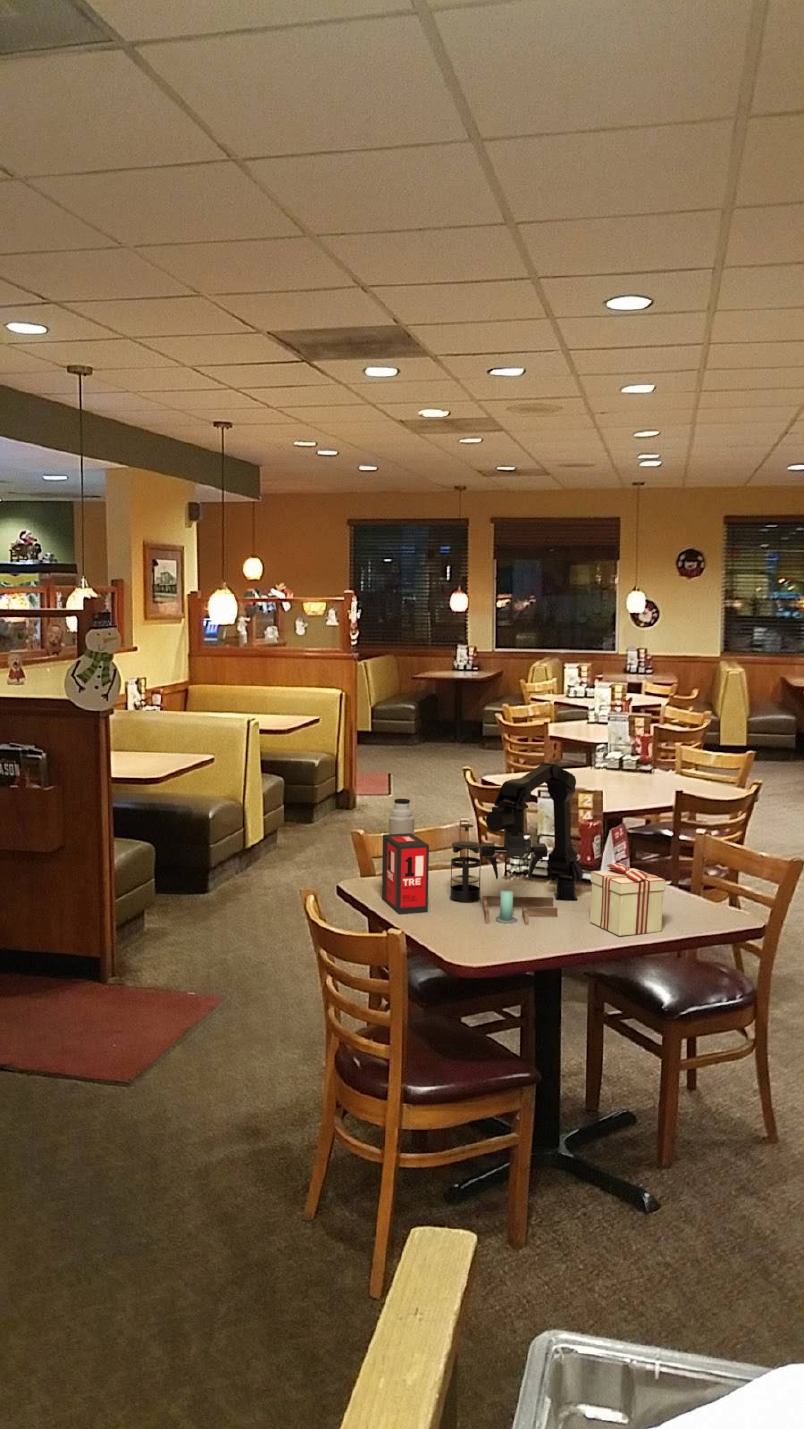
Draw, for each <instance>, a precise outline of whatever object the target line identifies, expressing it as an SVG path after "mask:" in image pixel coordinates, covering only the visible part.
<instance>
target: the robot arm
mask: <svg viewBox="0 0 804 1429" xmlns="http://www.w3.org/2000/svg"><path fill="white" fill-rule="evenodd" d="M544 783H545V784H546V786H547V794H548V795H549V796H550V798H551V800H552V802H553V803H552V804H553V832H554V834H553V836H554V837H553V838H554V847H553V848H552V851H551V852H549V851H548V846H547V845H546V844H545V842H532V839H531V838H528V839H527V838H526V839H525V810H526V809H528V808H529V805H528V804H527V803H526V802H527V801H528V800H529V799H530V798H531V796H532V792H533V791H534V790H535V789H537V788H538V787H540V786H542V785H543V784H544ZM576 786H577V780H576V776H575V775H574V774H573V773H571V772H569V771H567V770H566V769H564V768H562V767H560V766H559V765H558V764H556V763H554V762H553V763H552V762H541V763H540V764H539V765H538V766H537V767H535V768H533V769H532V770H531V771H530V772H528V773H526V774H525V775H523V776H522V777H519V778H518V777H517V778H512V779H509V780H505V781H504V782H502V785H501V787H500V789H499V791H498V794H497V797H496V798H495V801H494V804H493V805H494V806H492V807H491V811H489V812H488V813H487V815H486V817H485V825H486V827H487V829H488V830H489V831H491V832H493V833H494V832H495V833H496V832H499V831H503V845H495V842H481V843H480V844H481V847H480V849H479V853H480V856H481V857H484V858H485V860H489V862H490V864H491V865H492V869H493V873H494V876H495V879H496V880H499V879H498V878H499V872H498V862H497V856H496V854H497V853H498V854H506V856H507V857H509V858H513V857H515V858H524V856H525V854H530V857H529V866H528V880H529V881H530V880H531V878H532V876H533V872H534V870H535V868H536V866H537V864H538V862H539V861H540V860H541V861H543V859H544V858H547V859H548V863H547V866H548V869H549V875H550V877H551V878H556V892H554V893H553V895H554V897H555V900H556V901H578V897H577V895H576V885H577V884H576V882H581V880H582V879H583V876H584V871H583V870H582V868H581V866H580V865H579V863H578V858H577V856H578V855H577V853H576V852H575V850H574V849H573V847H572V836H571V834H572V833H571V832H572V831H571V829H572V827H571V799H572V798H573V796H574V794H575V792H576ZM548 852H549V853H548Z"/></svg>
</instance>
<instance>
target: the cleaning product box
mask: <svg viewBox="0 0 804 1429" xmlns="http://www.w3.org/2000/svg"><path fill="white" fill-rule="evenodd" d="M381 858H382V864H381V865H382V870H381V873H382V874H381V878H382V879H381V900H382V901H383V902H384V904H385V903H386V905H387V906H389V907H390V909H392V910H393V911H394V912H395V913H396V914H397V915H409V914H411V915H412V914H421V913H422V914H424V913H425V914H426V913H428V912H429V909H428V908H429V870H430V869H429V867H430V866H429V861H430V845H429V844H428V843H427V842H425V841H423V840H422V839H421V838H419V837H418V836H416V835H415V834H414V835H413V834H411V833H404V834H389V833H388V834H382V857H381Z"/></svg>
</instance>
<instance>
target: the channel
mask: <svg viewBox="0 0 804 1429" xmlns="http://www.w3.org/2000/svg"><path fill="white" fill-rule="evenodd" d="M481 901H482V902H481V903H482V910H483V915H484V920H485V924H486V925H489V924H490V915H491V914H490V910H489V906H500V901H501V895H482V900H481ZM513 907H522V911H521V912H522V914H521V917H522V918H523V919H522V920H523V922H524V925H527V926H528V925H529V918H530V917H532V918H533V917H534V918H535V917H537V918H538V917H540V918H542V917H543V918H558V907H554V897H551V896H549V897H547V896H545V897H543V896H542V897H541V896H513Z"/></svg>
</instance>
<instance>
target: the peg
mask: <svg viewBox="0 0 804 1429" xmlns="http://www.w3.org/2000/svg"><path fill="white" fill-rule="evenodd" d="M500 896H501V901H500V905H499V906H500V907H499V910H500V911H499V916H500V920H503V921H511V920H512V917H513V914H514V913H513V908H514V906H513V897H514V891H513V890H510V889H509V890H508V889H502V890H500Z"/></svg>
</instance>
